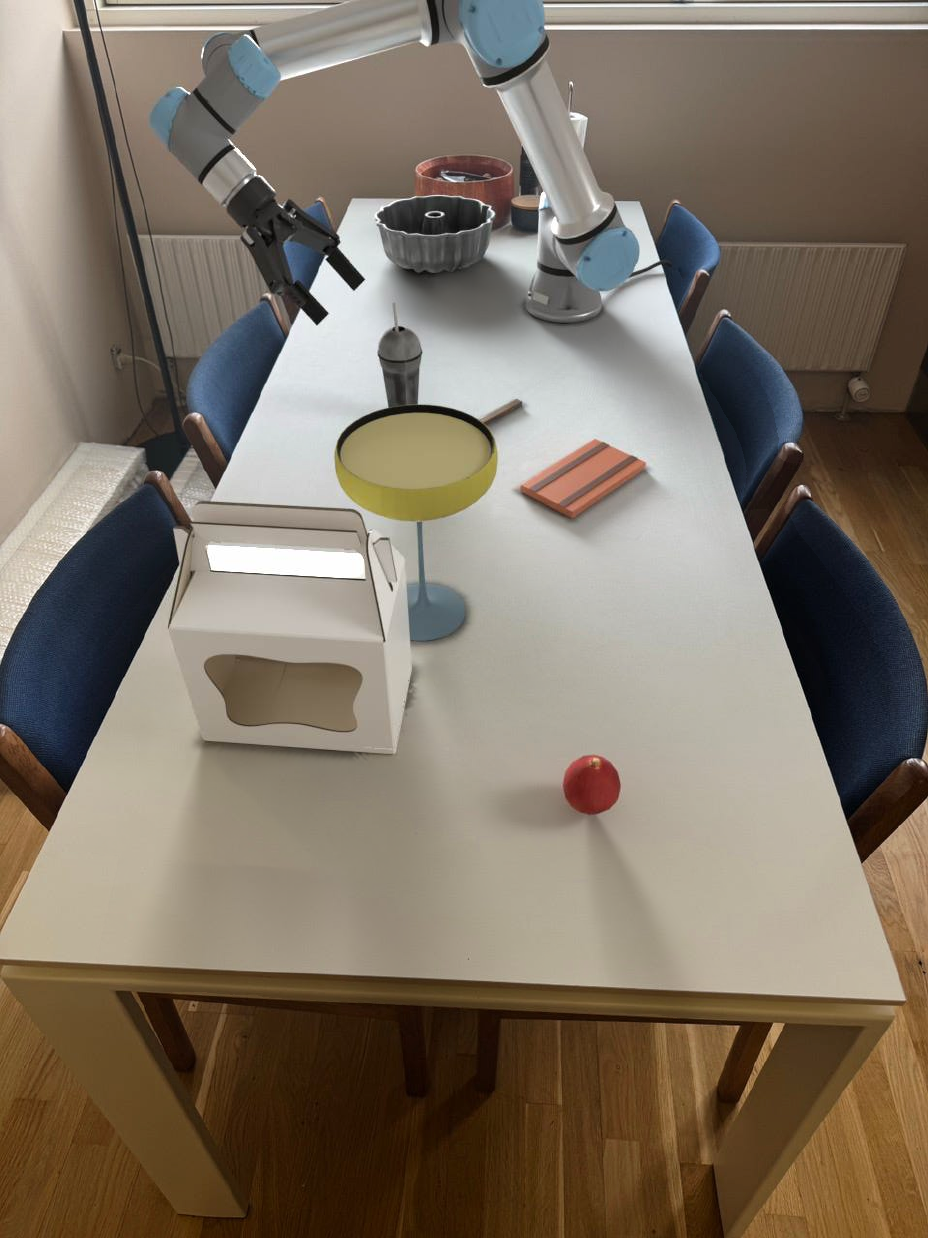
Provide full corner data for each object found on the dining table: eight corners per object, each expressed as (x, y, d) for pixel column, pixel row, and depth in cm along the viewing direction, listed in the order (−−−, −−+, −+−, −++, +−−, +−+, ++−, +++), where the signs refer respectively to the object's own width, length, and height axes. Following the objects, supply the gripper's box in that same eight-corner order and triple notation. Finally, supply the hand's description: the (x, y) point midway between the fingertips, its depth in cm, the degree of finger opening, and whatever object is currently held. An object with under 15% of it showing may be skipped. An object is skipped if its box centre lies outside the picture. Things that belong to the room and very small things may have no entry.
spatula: (507, 398, 156) (507, 394, 156) (531, 409, 153) (531, 405, 153) (420, 445, 145) (420, 441, 145) (444, 458, 142) (444, 453, 142)
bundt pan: (353, 258, 203) (349, 212, 196) (440, 229, 216) (439, 185, 209) (430, 293, 189) (428, 245, 182) (518, 260, 202) (520, 213, 195)
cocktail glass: (402, 552, 125) (392, 389, 108) (518, 595, 118) (526, 427, 101) (324, 630, 113) (299, 461, 96) (448, 682, 107) (444, 510, 90)
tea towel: (594, 445, 145) (595, 438, 144) (645, 468, 140) (646, 461, 139) (520, 491, 136) (520, 484, 135) (572, 518, 130) (572, 511, 130)
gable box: (200, 741, 100) (136, 542, 81) (233, 657, 110) (184, 462, 91) (397, 755, 99) (380, 556, 80) (414, 669, 108) (402, 473, 89)
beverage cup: (431, 408, 154) (427, 294, 140) (415, 430, 149) (410, 313, 135) (391, 402, 155) (384, 288, 142) (375, 422, 150) (365, 306, 137)
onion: (556, 786, 96) (561, 737, 90) (609, 782, 96) (618, 733, 90) (565, 832, 91) (571, 784, 86) (621, 828, 92) (630, 780, 86)
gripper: (268, 182, 146) (360, 285, 153) (184, 235, 129) (292, 349, 136) (293, 150, 141) (387, 258, 148) (210, 201, 124) (320, 320, 131)
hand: (342, 302), depth 142 cm, fingers open, 13 cm apart
